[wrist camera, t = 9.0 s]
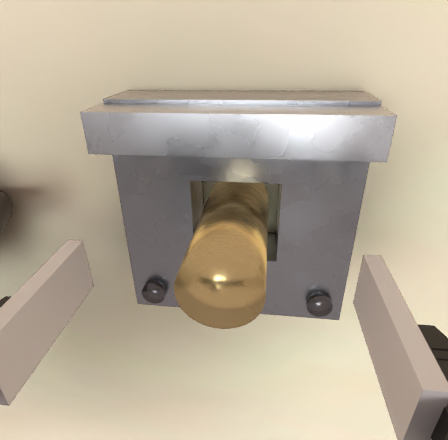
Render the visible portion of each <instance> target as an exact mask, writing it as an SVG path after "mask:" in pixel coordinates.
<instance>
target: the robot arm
mask: <svg viewBox="0 0 448 440" xmlns="http://www.w3.org/2000/svg"><path fill="white" fill-rule="evenodd" d="M93 286H94V285H93V281H92V277H91V273H90V268H89V264H88V260H87V256H86V252H85V248H84V243H83V241H78V240H67V241H66V242H65V243H64V244H63V245H62V246H61V247H60V248H59V249H58V250H57V251H56V252H55V253H54V254H53V255H52V256H51V257H50V258H49V259H48V260H47V261H46V262H45V263H44V264H43V265H42V266H41V267H40V269H39V270H38V271H37V272H36V273H35V274H34V275H33V276H32V277H31V278H30V279H29V280H28V281H27V282H26V283H25V284H24V285H23V286H22V287H21V288H20V289H19V290H18V291H17V292H16V293H15V294H14V295H13V296H12V297H7V296H6V297H4V298H3V299H1V300H0V405H8V406H9V405H10V404H11V402H12V401H13V399H14V398H15V397H16V395H17V394H18V392H19V391H20V390H21V388H22V387H23V385H24V384H25V382H26V381H27V380H28V378H29V377H30V375H31V374H32V373H33V371H34V370H35V368H36V367H37V365H38V364H39V363H40V361H41V360H42V358H43V357H44V356H45V354H46V353H47V351H48V350H49V348H50V347H51V346H52V344H53V343H54V341H55V340H56V339H57V337H58V336H59V334H60V333H61V331H62V330H63V329H64V327H65V326H66V324H67V323H68V322H69V320H70V319H71V317H72V316H73V314H74V313H75V312H76V310H77V309H78V307H79V306H80V305H81V303H82V302H83V300H84V299H85V297H86V296H87V295H88V293H89V292H90V290H91V289H92V288H93ZM353 304H354V307H355V310H356V313H357V316H358V319H359V322H360V325H361V328H362V332H363V335H364V338H365V341H366V344H367V347H368V350H369V353H370V356H371V359H372V362H373V365H374V369H375V372H376V375H377V378H378V381H379V384H380V387H381V390H382V393H383V396H384V399H385V402H386V406H387V409H388V412H389V415H390V418H391V421H392V424H393V427H394V430H395V433H396V436H397V439H398V440H431V439H432V440H448V338H447V337H446V336H445V335H444V334H443V333H442V332H440V331H439V330H438V329H437V328H436V327H435V326H430V325H417V323H416V321H415V319H414V317H413V315H412V313H411V311H410V310H409V308H408V306H407V304H406V302H405V300H404V298H403V296H402V294H401V292H400V290H399V289H398V287H397V285H396V283H395V281H394V279H393V277H392V275H391V273H390V271H389V269H388V268H387V266H386V264H385V262H384V260H383V258H382V256H374V255H363V259H362V264H361V269H360V273H359V278H358V283H357V287H356V292H355V297H354V301H353Z"/></svg>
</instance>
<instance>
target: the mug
mask: <svg viewBox="0 0 448 440" xmlns="http://www.w3.org/2000/svg"><path fill="white" fill-rule="evenodd" d="M11 212H12V202H11V199H10V197H9V196H8V195H7V194H6V193H4V192H2V191H0V236H1V234H2V232H3V231H4V229H5V227H6V225H7V222H8V220H9V218H10V215H11Z"/></svg>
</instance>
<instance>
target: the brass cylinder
mask: <svg viewBox="0 0 448 440" xmlns="http://www.w3.org/2000/svg"><path fill="white" fill-rule="evenodd" d="M268 203H269V197H268V192H267V189H266V187H265V185H264V184H263V183H245V182H216V183H215V184H214V186H213V188H212V191H211V193H210V195H209V198H208V200H207V203H206V205H205V208H204V210H203V213H202V215H201V217H200V220H199V222H198V225H197V227H196V230H195V232H194V235H193V237H192V239H191V242H190V244H189V247H188V249H187V252H186V254H185V257H184V259H183V262H182V264H181V266H180V269H179V271H178V274H177V276H176V279H175V283H174V294H175V297H176V300H177V302H178V304H179V306H180V307H181V309H182V310H183V311H184V312H185V313H186V314H187V315H188V316H189V317H191V318H192V319H193V320H195V321H197V322H199V323H201V324H203V325H206V326H209V327H213V328H221V329H229V328H236V327H240V326H243V325H245V324H248V323H249V322H251V321H252V320H254V319H255V318H256V317H257V316H258V315H259V314H260V313H261V311H262V309H263V307H264V304H265V299H266V271H267V237H268Z"/></svg>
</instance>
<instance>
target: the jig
mask: <svg viewBox="0 0 448 440" xmlns="http://www.w3.org/2000/svg"><path fill="white" fill-rule="evenodd" d="M103 102H104V103H103V104H100V105H98V106H95V107H92V108H90V109H87V110H84V111H82V112H80V113H81V118H82V123H83V128H84V133H85V138H86V143H87V148H88V153H89V154H108V155H113V161H114V167H115V173H116V178H117V184H118V190H119V196H120V202H121V208H122V214H123V220H124V226H125V231H126V237H127V243H128V249H129V255H130V261H131V267H132V273H133V279H134V284H135V290H136V296H137V302H138V304H147V305H159V306H171V307H180V306H179V304H178V302H177V300H176V297H175V294H174V283H175V279H176V276H177V274H178V271H179V269H180V266H181V264H182V262H183V259H184V257H185V254H186V252H187V249H188V247H189V244H190V242H191V239H192V237H193V235H194V232H195V230H196V227H197V225H198V222H199V220H200V217H201V215H202V213H203V188H202V181H217V182H245V183H273V184H279V198H278V212H277V227H276V234H275V233H268V237H267V271H266V299H265V304H264V307H263V309H262V311H261V313H260V314H270V315H283V316H295V317H307V318H320V319H332V320H339V317H340V312H341V307H342V301H343V296H344V291H345V286H346V281H347V276H348V270H349V265H350V260H351V255H352V250H353V245H354V240H355V234H356V229H357V224H358V219H359V214H360V209H361V204H362V198H363V193H364V188H365V183H366V178H367V173H368V167H369V162H387V159H388V155H389V150H390V146H391V141H392V136H393V132H394V127H395V123H396V118H397V115H395V114H393V113H392V112H390V111H388V110H387V109H385V108H384V107H382V106H381V101H380V100H378V99H377V98H375V97H373V96H372V95H370V94H368V93H366V92H365V91H149V90H128V91H125V92H122V93H119V94H116V95H114V96H111V97H108V98H105V99H103Z"/></svg>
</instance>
